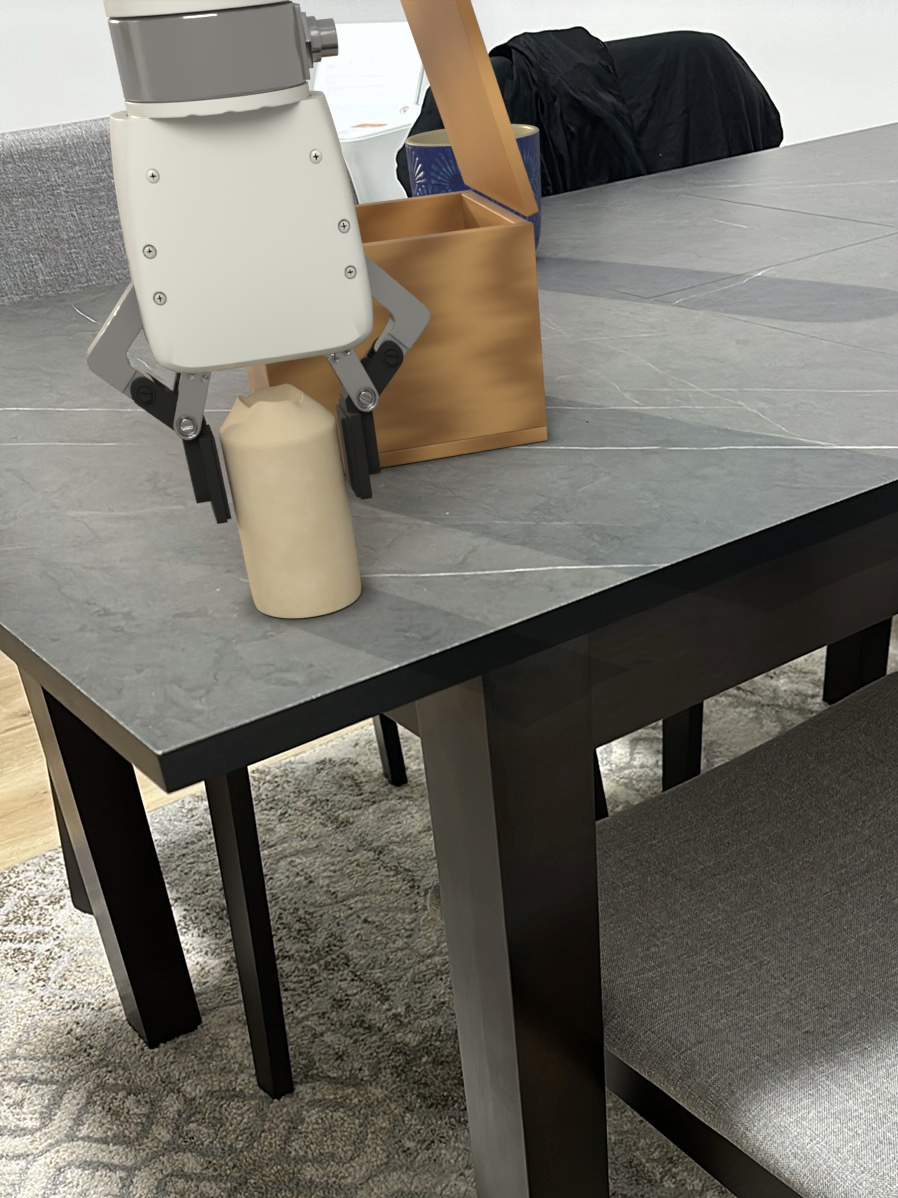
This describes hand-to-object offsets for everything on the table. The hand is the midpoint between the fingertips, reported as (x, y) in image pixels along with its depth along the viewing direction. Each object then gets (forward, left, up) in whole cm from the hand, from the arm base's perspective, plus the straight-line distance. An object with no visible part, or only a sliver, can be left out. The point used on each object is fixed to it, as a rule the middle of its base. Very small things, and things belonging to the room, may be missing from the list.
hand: (290, 499), depth 67 cm
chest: (+10, +26, -5) cm, 28 cm away
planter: (+29, +75, -5) cm, 81 cm away
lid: (+16, +26, +16) cm, 34 cm away
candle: (0, 0, -5) cm, 5 cm away
